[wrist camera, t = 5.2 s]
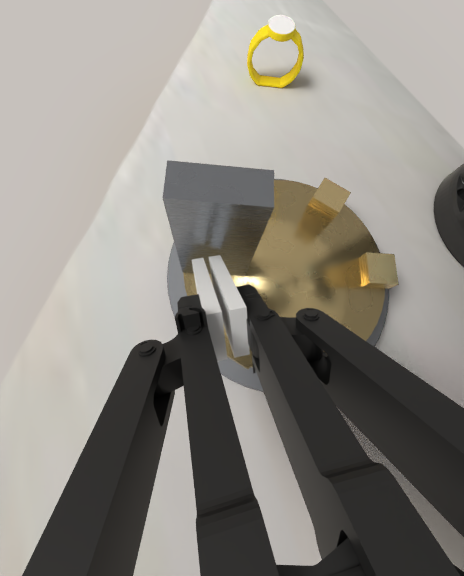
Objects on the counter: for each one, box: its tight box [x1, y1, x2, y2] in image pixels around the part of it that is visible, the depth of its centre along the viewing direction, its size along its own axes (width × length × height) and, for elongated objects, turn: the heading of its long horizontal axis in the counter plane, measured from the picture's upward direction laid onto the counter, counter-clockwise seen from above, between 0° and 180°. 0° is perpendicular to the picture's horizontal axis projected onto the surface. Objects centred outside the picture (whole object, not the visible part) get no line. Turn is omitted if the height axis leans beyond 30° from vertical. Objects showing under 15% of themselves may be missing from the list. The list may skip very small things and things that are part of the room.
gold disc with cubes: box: [163, 161, 398, 369], centre depth 18 cm, size 17×17×12 cm
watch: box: [247, 15, 304, 88], centre depth 30 cm, size 6×3×6 cm, turn 88°
